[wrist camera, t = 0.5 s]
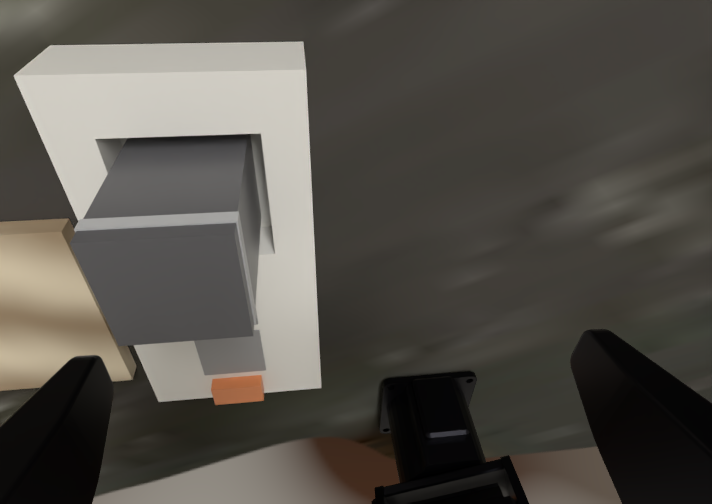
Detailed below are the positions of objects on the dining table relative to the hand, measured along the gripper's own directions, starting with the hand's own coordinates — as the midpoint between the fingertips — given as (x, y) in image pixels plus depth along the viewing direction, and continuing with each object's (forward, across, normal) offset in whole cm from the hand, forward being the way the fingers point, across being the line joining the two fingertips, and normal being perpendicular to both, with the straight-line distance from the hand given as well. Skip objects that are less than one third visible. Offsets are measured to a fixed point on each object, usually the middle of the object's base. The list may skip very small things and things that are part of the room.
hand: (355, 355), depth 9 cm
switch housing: (+13, +5, +7) cm, 16 cm away
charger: (+12, +5, +3) cm, 14 cm away
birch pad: (+13, +17, +12) cm, 24 cm away
